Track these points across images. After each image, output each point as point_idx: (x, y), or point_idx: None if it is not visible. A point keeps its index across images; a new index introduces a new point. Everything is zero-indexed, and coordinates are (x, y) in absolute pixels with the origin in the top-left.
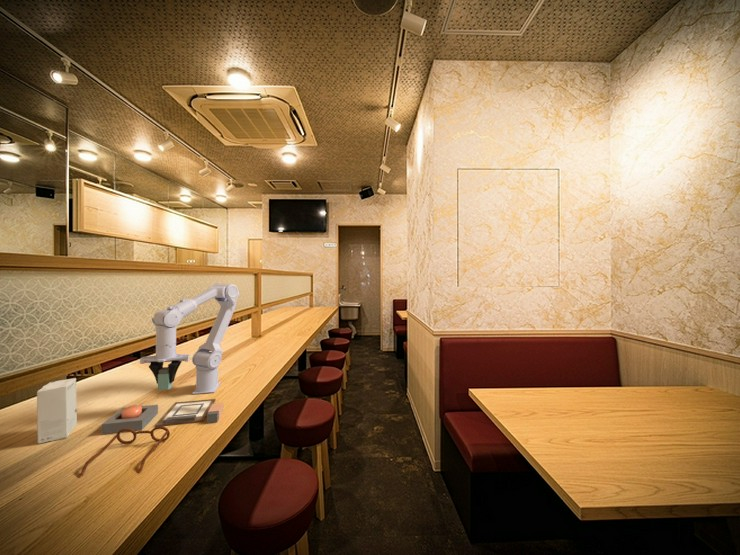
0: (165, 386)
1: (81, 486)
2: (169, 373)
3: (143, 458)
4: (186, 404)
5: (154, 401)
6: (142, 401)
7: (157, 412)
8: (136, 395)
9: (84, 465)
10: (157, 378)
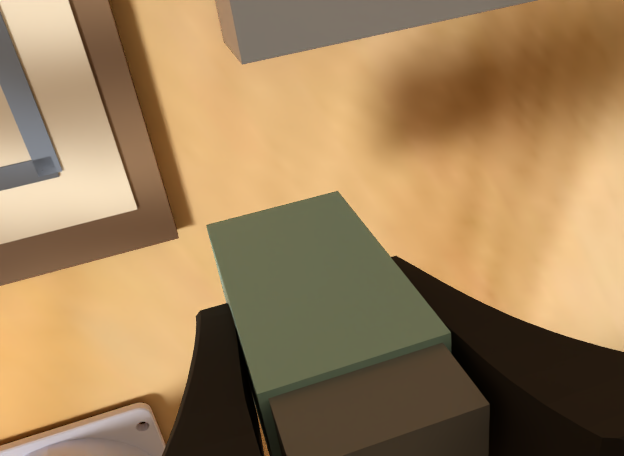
0: (255, 241)
1: None
2: (247, 409)
3: None
4: (13, 200)
5: None
6: (482, 248)
7: (225, 37)
8: (563, 322)
9: None
10: (425, 295)
